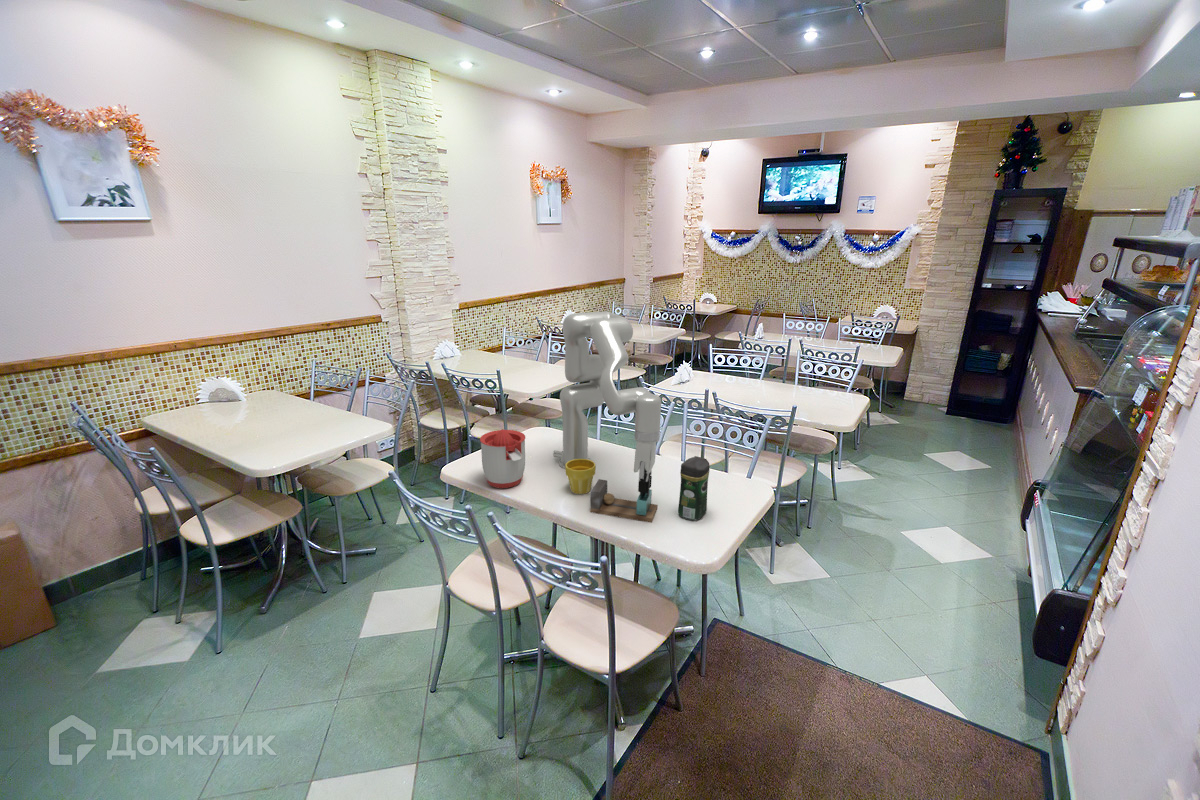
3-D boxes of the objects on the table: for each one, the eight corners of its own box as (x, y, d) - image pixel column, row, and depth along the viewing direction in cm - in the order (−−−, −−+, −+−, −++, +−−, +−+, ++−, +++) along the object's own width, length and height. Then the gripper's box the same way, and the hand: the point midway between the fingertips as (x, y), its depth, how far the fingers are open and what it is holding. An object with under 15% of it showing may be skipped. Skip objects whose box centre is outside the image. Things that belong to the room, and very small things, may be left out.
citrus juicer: (498, 498, 172) (495, 442, 166) (474, 480, 185) (471, 427, 179) (537, 485, 182) (536, 432, 176) (512, 468, 194) (510, 418, 188)
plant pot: (565, 483, 183) (564, 458, 180) (594, 483, 184) (594, 457, 181) (565, 497, 173) (565, 471, 170) (596, 496, 174) (596, 470, 171)
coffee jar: (687, 504, 170) (690, 452, 164) (709, 511, 166) (714, 458, 160) (673, 516, 162) (677, 462, 157) (696, 524, 158) (701, 468, 153)
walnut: (601, 505, 165) (601, 495, 164) (604, 500, 168) (605, 490, 167) (612, 507, 164) (612, 497, 163) (615, 502, 167) (615, 492, 166)
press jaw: (635, 513, 160) (637, 466, 155) (641, 502, 167) (643, 456, 162) (646, 515, 159) (648, 467, 154) (651, 503, 166) (654, 457, 161)
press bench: (590, 512, 164) (590, 491, 162) (598, 499, 172) (598, 479, 170) (651, 522, 158) (652, 500, 156) (657, 508, 167) (658, 487, 164)
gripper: (640, 424, 164) (638, 477, 169) (628, 442, 149) (626, 499, 154) (664, 427, 162) (661, 480, 167) (654, 445, 147) (651, 503, 152)
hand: (644, 489), depth 161 cm, fingers closed on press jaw, 3 cm apart
